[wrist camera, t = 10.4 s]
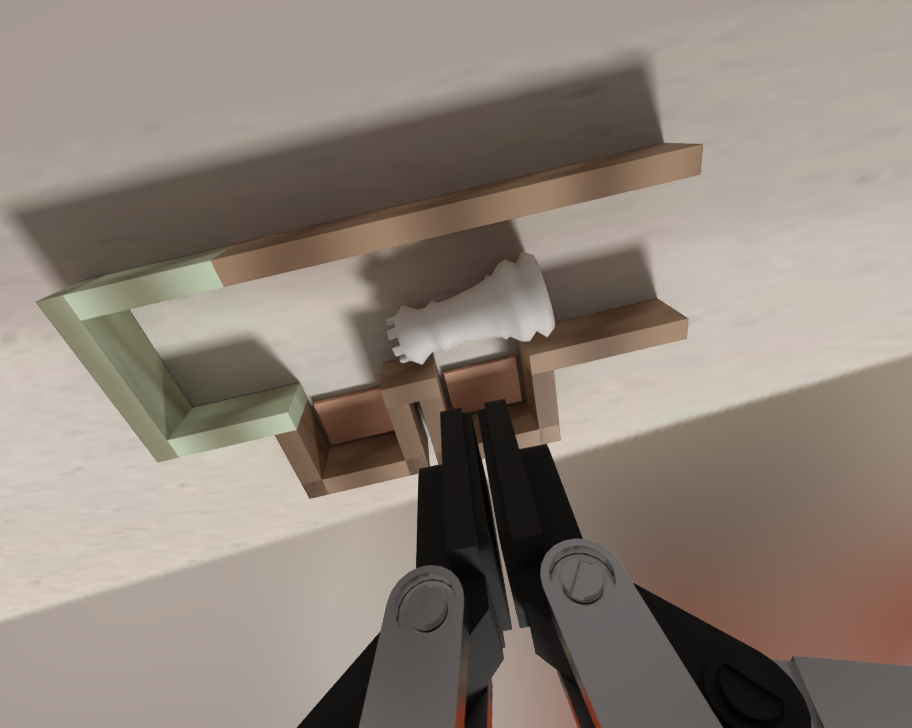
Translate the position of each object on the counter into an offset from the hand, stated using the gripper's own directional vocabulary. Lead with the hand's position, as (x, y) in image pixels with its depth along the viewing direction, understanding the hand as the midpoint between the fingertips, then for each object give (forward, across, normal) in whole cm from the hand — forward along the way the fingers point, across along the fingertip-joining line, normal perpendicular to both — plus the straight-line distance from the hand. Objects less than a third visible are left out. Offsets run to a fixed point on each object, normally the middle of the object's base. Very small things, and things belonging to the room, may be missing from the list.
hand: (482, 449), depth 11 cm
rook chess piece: (+11, -4, +1) cm, 12 cm away
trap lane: (+13, +3, +3) cm, 14 cm away
